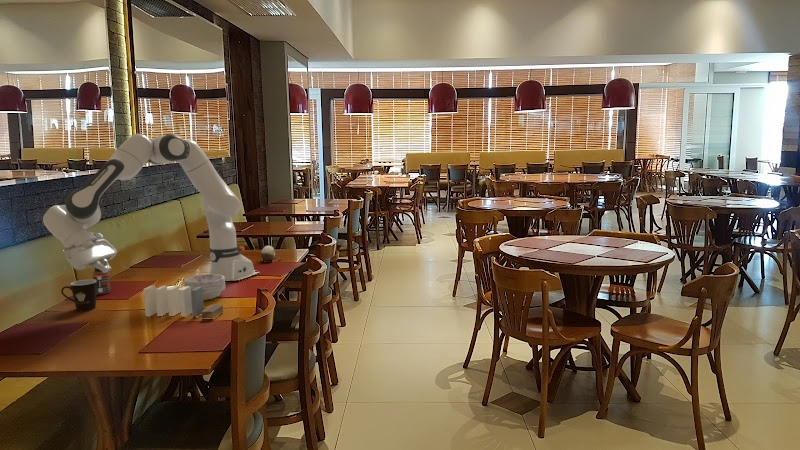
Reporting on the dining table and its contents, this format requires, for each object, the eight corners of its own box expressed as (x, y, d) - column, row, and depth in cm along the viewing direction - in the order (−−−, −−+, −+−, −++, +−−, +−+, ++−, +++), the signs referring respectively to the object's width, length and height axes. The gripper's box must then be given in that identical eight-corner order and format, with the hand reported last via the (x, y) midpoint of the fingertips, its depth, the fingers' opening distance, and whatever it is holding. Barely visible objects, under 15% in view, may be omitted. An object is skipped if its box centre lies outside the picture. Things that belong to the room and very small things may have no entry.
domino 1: (145, 316, 212) (143, 288, 210) (153, 312, 217) (151, 285, 215) (149, 316, 212) (147, 289, 210) (157, 312, 217) (155, 285, 215)
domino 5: (193, 318, 209) (191, 290, 208) (199, 313, 214) (198, 286, 212) (197, 318, 209) (195, 290, 207) (204, 313, 214) (202, 286, 212)
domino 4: (181, 317, 210) (179, 289, 208) (188, 313, 215) (186, 286, 213) (185, 317, 210) (183, 290, 208) (192, 313, 215) (190, 286, 213)
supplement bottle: (104, 295, 240) (101, 267, 238) (91, 294, 241) (88, 267, 239) (113, 291, 246) (111, 264, 244) (101, 290, 247) (98, 264, 245)
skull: (258, 256, 307) (271, 241, 305) (273, 269, 307) (286, 254, 306) (251, 260, 295) (264, 245, 294) (267, 274, 295) (280, 259, 294)
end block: (202, 319, 207) (201, 311, 207) (212, 312, 215) (212, 304, 214) (213, 320, 206) (212, 311, 206) (223, 313, 214) (222, 305, 214)
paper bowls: (214, 290, 246) (213, 271, 244) (233, 297, 235) (231, 277, 234) (178, 297, 235) (177, 278, 234) (196, 305, 224) (195, 284, 223)
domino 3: (169, 317, 211) (167, 289, 209) (176, 312, 215) (174, 285, 214) (173, 317, 210) (171, 289, 209) (180, 313, 215) (178, 286, 214)
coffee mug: (104, 306, 225) (101, 280, 223) (85, 312, 217) (83, 286, 215) (80, 303, 229) (77, 278, 227) (61, 310, 221) (58, 283, 219)
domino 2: (157, 316, 211) (155, 289, 210) (165, 312, 216) (162, 285, 215) (161, 316, 211) (159, 289, 209) (169, 312, 216) (167, 285, 214)
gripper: (65, 243, 203) (94, 271, 203) (103, 232, 223) (130, 258, 223) (55, 255, 205) (83, 284, 205) (94, 244, 225) (120, 270, 225)
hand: (108, 270), depth 214 cm, fingers closed
